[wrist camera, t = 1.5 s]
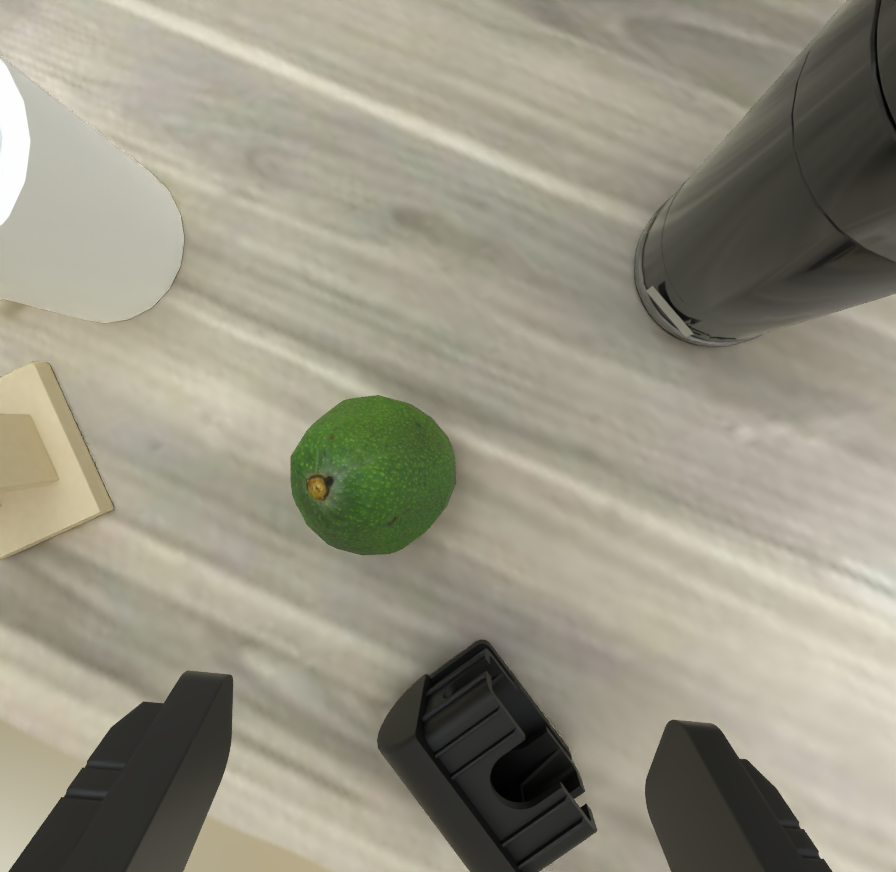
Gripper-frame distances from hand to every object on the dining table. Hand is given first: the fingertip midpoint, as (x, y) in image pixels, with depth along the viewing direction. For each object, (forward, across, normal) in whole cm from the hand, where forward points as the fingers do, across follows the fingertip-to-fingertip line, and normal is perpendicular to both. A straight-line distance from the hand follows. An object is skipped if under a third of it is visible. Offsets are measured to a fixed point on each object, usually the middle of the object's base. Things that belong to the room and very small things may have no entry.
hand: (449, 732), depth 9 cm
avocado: (+22, +2, +4) cm, 22 cm away
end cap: (+16, -5, +18) cm, 25 cm away
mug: (+27, +23, -6) cm, 36 cm away
